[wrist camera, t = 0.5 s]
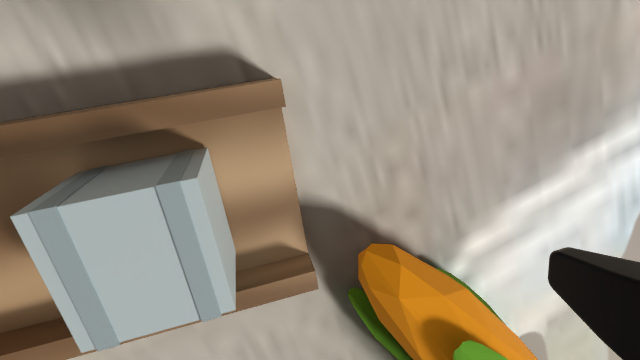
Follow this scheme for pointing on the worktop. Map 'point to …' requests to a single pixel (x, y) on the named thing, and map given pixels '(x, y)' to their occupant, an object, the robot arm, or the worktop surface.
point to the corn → (428, 311)
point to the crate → (133, 248)
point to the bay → (143, 143)
